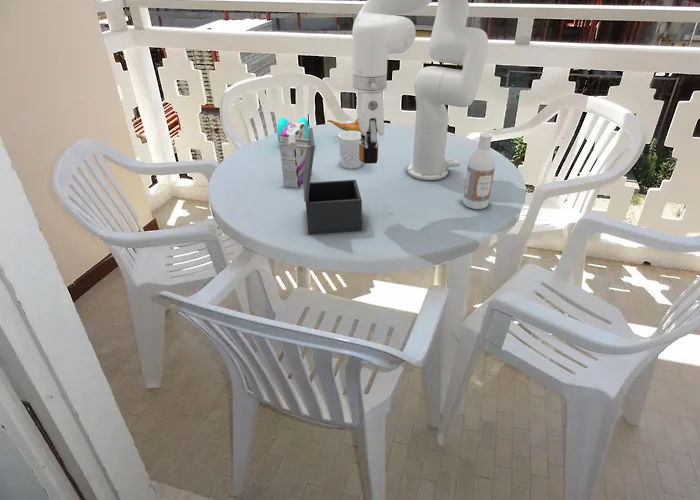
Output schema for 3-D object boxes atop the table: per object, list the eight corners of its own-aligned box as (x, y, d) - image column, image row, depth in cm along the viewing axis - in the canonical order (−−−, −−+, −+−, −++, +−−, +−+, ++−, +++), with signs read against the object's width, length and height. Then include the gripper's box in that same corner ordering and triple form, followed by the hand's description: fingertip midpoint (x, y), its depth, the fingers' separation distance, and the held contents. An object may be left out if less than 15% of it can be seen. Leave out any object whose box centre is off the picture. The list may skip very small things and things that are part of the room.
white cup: (335, 167, 154) (334, 137, 149) (344, 158, 160) (344, 129, 155) (358, 171, 152) (358, 141, 146) (366, 161, 158) (367, 132, 152)
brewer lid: (312, 128, 118) (288, 125, 117) (314, 145, 108) (289, 143, 107) (305, 181, 126) (283, 179, 124) (307, 202, 116) (283, 200, 115)
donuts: (307, 151, 166) (305, 122, 160) (278, 151, 166) (275, 122, 160) (309, 140, 174) (308, 113, 169) (282, 140, 174) (279, 113, 169)
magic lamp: (326, 135, 178) (325, 106, 172) (373, 132, 180) (374, 103, 174) (328, 142, 172) (327, 112, 166) (377, 139, 174) (378, 108, 168)
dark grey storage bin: (355, 208, 132) (355, 179, 127) (361, 230, 122) (361, 200, 117) (306, 211, 131) (304, 182, 126) (308, 234, 121) (306, 203, 116)
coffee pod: (376, 155, 119) (376, 138, 117) (379, 162, 116) (380, 145, 113) (357, 156, 119) (357, 139, 116) (360, 163, 115) (360, 146, 113)
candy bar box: (293, 171, 152) (289, 121, 143) (309, 172, 151) (305, 122, 142) (282, 187, 143) (277, 134, 134) (299, 188, 142) (294, 135, 133)
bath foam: (469, 211, 130) (479, 140, 119) (458, 199, 136) (467, 131, 124) (492, 208, 131) (505, 138, 120) (481, 196, 137) (492, 128, 126)
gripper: (394, 91, 100) (390, 172, 110) (379, 71, 114) (377, 144, 124) (358, 93, 100) (358, 174, 110) (348, 73, 113) (348, 146, 124)
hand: (368, 157), depth 117 cm, fingers closed on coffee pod, 4 cm apart
